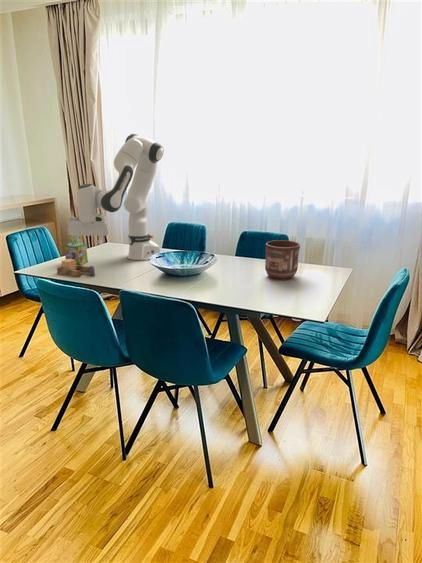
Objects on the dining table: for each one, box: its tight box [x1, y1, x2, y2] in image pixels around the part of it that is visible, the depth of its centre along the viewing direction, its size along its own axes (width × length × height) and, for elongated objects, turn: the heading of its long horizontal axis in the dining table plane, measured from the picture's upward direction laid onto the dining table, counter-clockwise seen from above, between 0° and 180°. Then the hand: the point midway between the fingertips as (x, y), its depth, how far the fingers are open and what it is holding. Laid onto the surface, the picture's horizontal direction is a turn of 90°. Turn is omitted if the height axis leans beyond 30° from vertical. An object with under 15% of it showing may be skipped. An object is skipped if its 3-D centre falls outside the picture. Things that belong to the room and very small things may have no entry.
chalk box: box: [63, 237, 89, 266], centre depth 240 cm, size 9×9×15 cm
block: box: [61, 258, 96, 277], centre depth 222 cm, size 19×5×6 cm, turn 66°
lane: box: [56, 265, 90, 278], centre depth 224 cm, size 15×9×3 cm, turn 66°
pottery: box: [264, 239, 301, 280], centre depth 218 cm, size 18×18×18 cm
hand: (90, 243), depth 215 cm, fingers open, 8 cm apart
